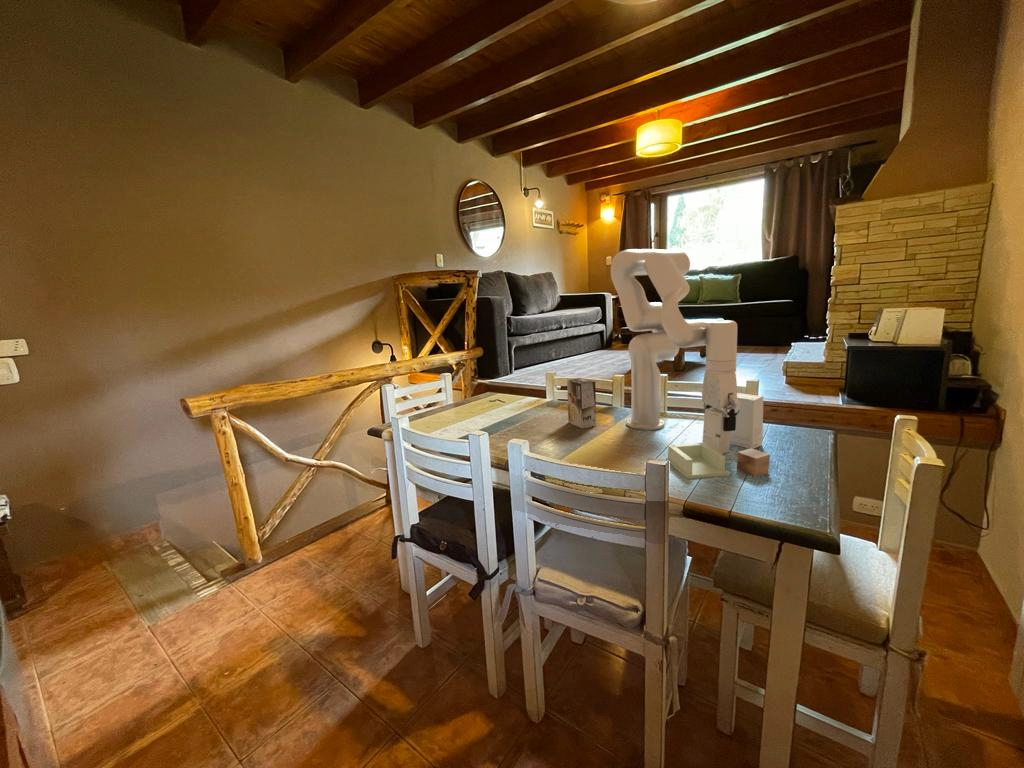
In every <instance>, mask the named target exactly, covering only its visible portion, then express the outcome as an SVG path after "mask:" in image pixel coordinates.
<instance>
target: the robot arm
mask: <svg viewBox="0 0 1024 768" xmlns="http://www.w3.org/2000/svg"><path fill="white" fill-rule="evenodd" d="M690 268H691V261H690V258H689V256H688V255H687V253H685V252H684V251H682V250H678V249H677V250H676V249H675V250H671V249H660V248H641V249H640V248H639V249H638V248H630V249H624V250H621V251H618V253H616V254H615V256H614V257H613V258H612V262H611V265H610V278H611V281H612V283H613V286H614V289H615V291H616V292H617V295H618V298H619V302H620V306H621V310H622V313H623V317H624V321H625V323H626V326H627V328H628V330H629V331H631V332H639V333H640V332H648V331H651V332H650V333H641V334H638V335H635V336H634V337H632V339H631V340H630V341H629V344H628V355H629V361H630V368H631V369H630V371H631V379H630V380H631V402H630V404H631V406H630V407H631V413H630V414H631V416H630V418H628V419H627V420H626V425H627V426H628V427H629V428H631V429H635V430H639V431H640V430H641V431H654V430H660V429H662V428H664V427H665V426H666V423H665V421H664V420H663V419H661V394H662V393H661V391H662V389H661V387H662V385H661V384H662V383H661V382H662V380H661V378H662V377H661V376H662V375H661V370H660V369H659V367H658V364H657V362H660V361H665V360H666V361H667V360H670V359H673V358H675V357H676V356H677V355H678V354H679V351H680V348H682V349H687V348H694V347H695V348H696V347H704V346H705V371H704V375H703V381H702V391H701V400H702V403H703V408H704V410H703V411H704V414H703V416H704V415H705V409H708V408H712V407H714V408H717V409H723V412H724V414H725V417H724V419H723V431H735V430H736V417H737V414H738V413H739V409H740V407H741V403H740V402H739V401H738V400H737V393H738V386H737V384H738V382H737V374H736V372H737V357H738V356H737V353H738V352H737V351H738V323H737V322H736V321H734V320H729V319H726V320H722V319H721V320H714V319H709V318H707V319H706V318H704V319H693V320H685V318H684V316H683V314H682V313H681V311H680V308H679V302H681V301H682V300H683V299H685V298H686V296H687V295H688V294H689V293H690V290H691V289H690V288H691V287H690V284H689V282H687V280H686V278H685V276H686V275H687V274H688V273H689V271H690ZM635 276H648V277H649V279H650V281H651V283H652V285H653V287H654V288H655V289H656V292H657V294H658V295H659V297H660V299H661V301H662V302H661V301H660V302H659V301H657V302H656V301H654V302H650V301H648V298H647V296H646V291H645V290H644V287H643V286H642V284H641V283H640V282H639V281H638V280H637V279H636V278H635ZM727 409H731V410H730V411H729V412H728V410H727Z"/></svg>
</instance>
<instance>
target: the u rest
mask: <svg viewBox="0 0 1024 768" xmlns="http://www.w3.org/2000/svg"><path fill="white" fill-rule="evenodd" d="M666 460H669V461H670V463H669V465H671V466H672V467H673V468H674V469H676V471H678V472H679V473H680V474H681V475H682V476H684V478H686V479H699V478H700V479H701V478H710V477H711V478H712V477H713V478H714V477H722V476H723V477H725V476H730V475H731V472H730V471H729V470H728V469H726V456H725V455H724V454H720V453H719V452H717V451H716V450H714V449H713V448H711V447H710V446H708V445H706V444H705V443H702V442H693V443H682V444H681V443H680V444H671V445H670V444H669V445H668V446H667V456H666V458H665V461H666Z"/></svg>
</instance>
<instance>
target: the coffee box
mask: <svg viewBox="0 0 1024 768" xmlns="http://www.w3.org/2000/svg"><path fill="white" fill-rule="evenodd" d="M566 385H567V386H566V388H567V389H566V390H567V391H566V392H567V416H568V418H567V419H568V422H567V423H568V424H570V423H571V425H573V426H575V427H578V428H580V429H582V430H583V429H589V428H592V426H593V427H595V426H597V407H596V405H597V402H596V401H597V400H596V398H597V397H596V394H597V393H596V392H597V390H596V381H593V380H590V379H586V378H582V377H577V378H572V379H567V380H566Z"/></svg>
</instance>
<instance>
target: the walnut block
mask: <svg viewBox="0 0 1024 768" xmlns="http://www.w3.org/2000/svg"><path fill="white" fill-rule="evenodd" d="M770 457H771V454H769V453H766V452H764V451H762V450H761V451H760V450H757V449H756V448H754V449H752V448H750V449H749V448H746V449H743V450H741V451H740V450H739V451H738V452H737V457H736V471H737V472H739V473H743V474H746V475H747V476H750V477H753V478H757V477H760V476H763V475H767V474H769V470H770Z"/></svg>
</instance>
